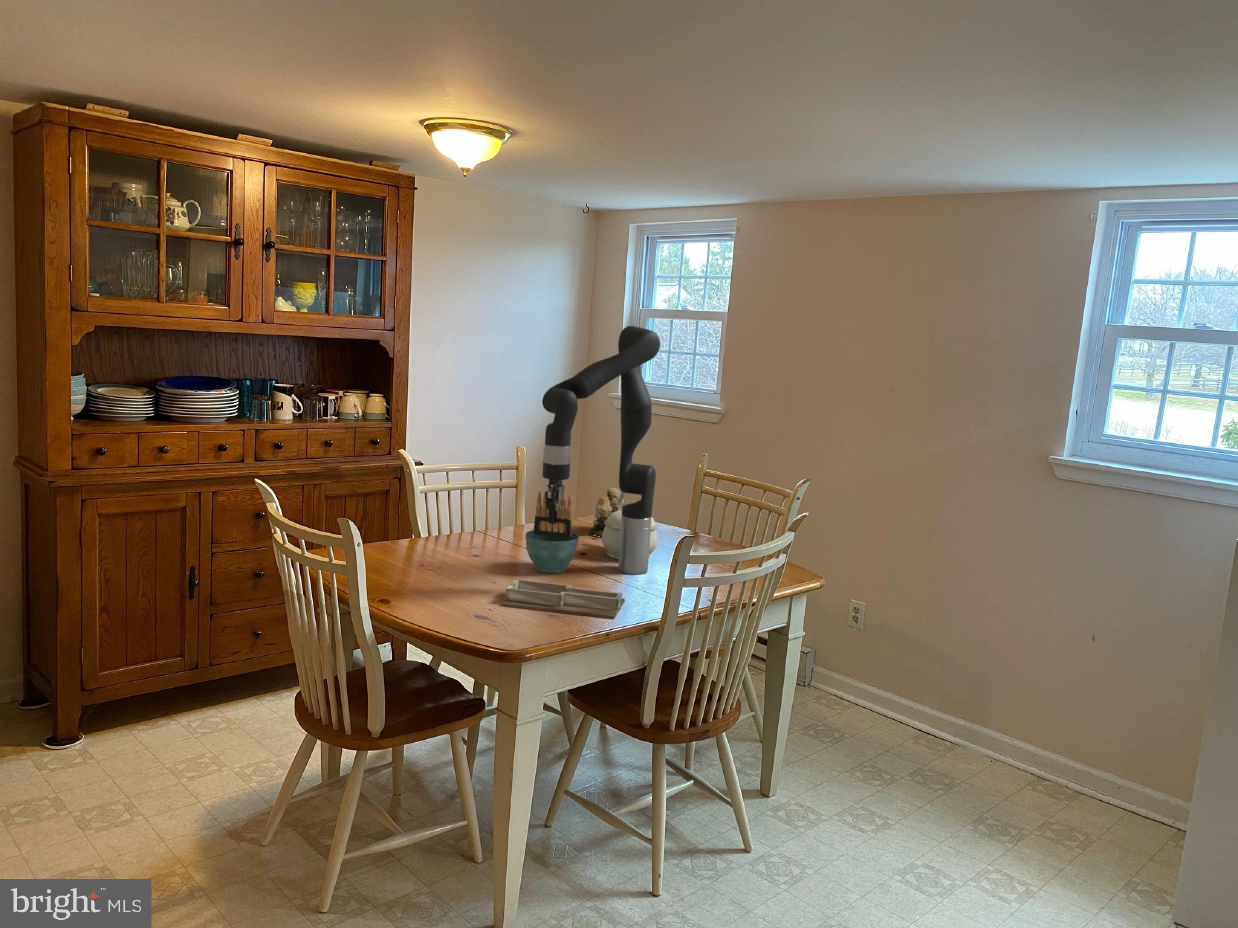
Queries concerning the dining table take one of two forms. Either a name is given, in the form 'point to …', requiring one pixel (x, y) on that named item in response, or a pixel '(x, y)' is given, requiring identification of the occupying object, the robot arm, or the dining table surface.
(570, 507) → the ammunition clip
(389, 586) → the dining table surface
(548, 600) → the shallow open tray
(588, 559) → the dining table surface
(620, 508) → the kettle
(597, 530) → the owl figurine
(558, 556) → the flower pot
